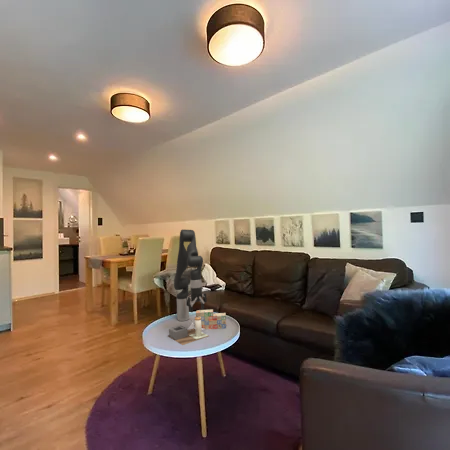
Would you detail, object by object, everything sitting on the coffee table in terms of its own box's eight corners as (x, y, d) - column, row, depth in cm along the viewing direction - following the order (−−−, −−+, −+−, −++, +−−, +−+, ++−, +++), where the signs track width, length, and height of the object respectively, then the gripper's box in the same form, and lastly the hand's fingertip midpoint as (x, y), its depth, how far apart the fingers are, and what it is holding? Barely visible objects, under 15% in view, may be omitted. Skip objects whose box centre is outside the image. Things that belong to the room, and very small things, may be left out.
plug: (194, 335, 184) (193, 317, 185) (199, 333, 187) (198, 315, 187) (197, 336, 181) (196, 318, 181) (203, 335, 184) (202, 316, 184)
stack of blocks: (226, 325, 206) (225, 308, 206) (226, 328, 200) (225, 311, 200) (197, 326, 206) (196, 309, 206) (196, 329, 200) (195, 312, 200)
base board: (167, 338, 186) (167, 335, 186) (193, 330, 199) (193, 327, 199) (182, 347, 171) (182, 344, 171) (209, 338, 183) (209, 335, 183)
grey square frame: (169, 336, 186) (168, 328, 186) (181, 332, 191) (180, 325, 191) (175, 340, 179) (175, 332, 179) (187, 336, 184) (187, 328, 184)
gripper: (202, 283, 191) (203, 307, 192) (183, 287, 183) (184, 311, 183) (208, 285, 186) (209, 309, 186) (189, 289, 177) (190, 314, 177)
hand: (197, 310), depth 184 cm, fingers open, 8 cm apart
